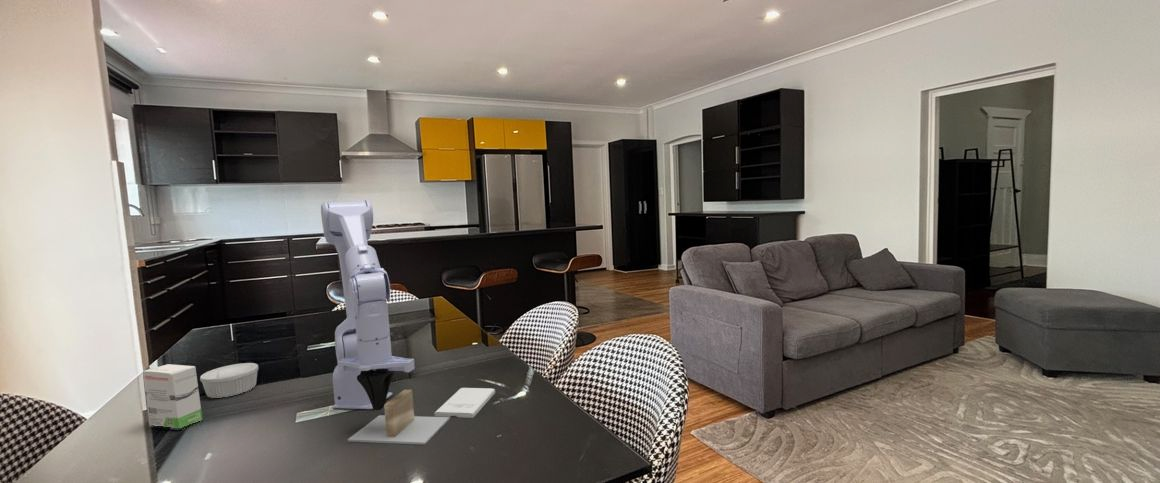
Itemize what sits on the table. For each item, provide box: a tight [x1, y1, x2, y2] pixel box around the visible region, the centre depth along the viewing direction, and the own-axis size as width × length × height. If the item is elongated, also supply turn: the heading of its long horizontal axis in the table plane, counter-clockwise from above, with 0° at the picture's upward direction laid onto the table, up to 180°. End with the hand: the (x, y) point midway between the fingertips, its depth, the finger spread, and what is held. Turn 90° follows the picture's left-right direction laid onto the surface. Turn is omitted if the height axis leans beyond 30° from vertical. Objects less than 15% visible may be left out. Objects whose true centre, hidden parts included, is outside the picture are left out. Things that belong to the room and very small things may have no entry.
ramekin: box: [199, 362, 259, 399], centre depth 116 cm, size 11×11×5 cm
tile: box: [383, 389, 415, 437], centre depth 91 cm, size 2×7×6 cm, turn 170°
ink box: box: [142, 363, 203, 429], centre depth 99 cm, size 9×5×12 cm, turn 73°
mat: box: [347, 414, 451, 446], centre depth 91 cm, size 15×10×1 cm, turn 80°
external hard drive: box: [434, 387, 496, 419], centre depth 102 cm, size 2×8×12 cm
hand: (379, 407), depth 92 cm, fingers closed
